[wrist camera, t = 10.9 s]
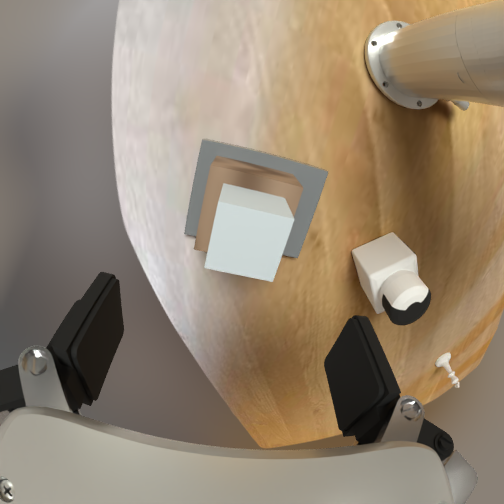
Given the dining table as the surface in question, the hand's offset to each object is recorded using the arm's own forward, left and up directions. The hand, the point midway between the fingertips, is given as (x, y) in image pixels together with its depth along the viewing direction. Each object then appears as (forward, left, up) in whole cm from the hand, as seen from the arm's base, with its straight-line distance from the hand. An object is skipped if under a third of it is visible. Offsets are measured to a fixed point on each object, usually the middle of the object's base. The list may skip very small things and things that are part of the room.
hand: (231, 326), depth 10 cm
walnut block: (-1, +2, -24) cm, 24 cm away
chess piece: (-59, +28, -25) cm, 70 cm away
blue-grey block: (-1, +2, -18) cm, 18 cm away
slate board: (-2, +2, -25) cm, 25 cm away
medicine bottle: (-22, +6, -25) cm, 34 cm away
